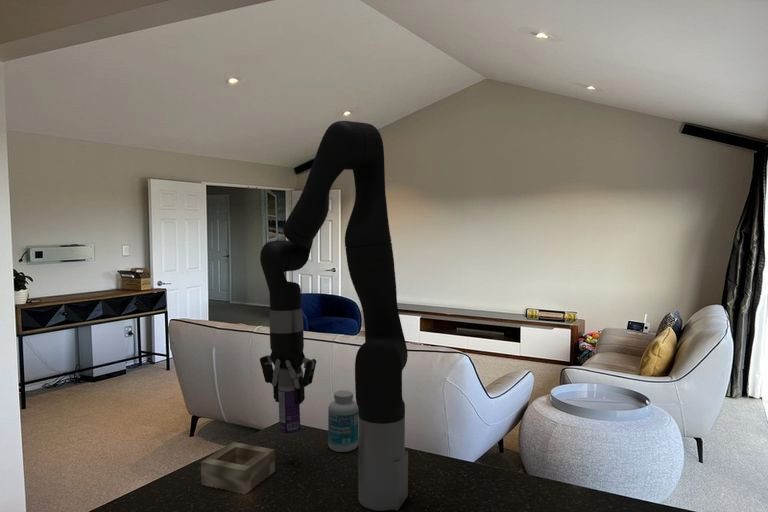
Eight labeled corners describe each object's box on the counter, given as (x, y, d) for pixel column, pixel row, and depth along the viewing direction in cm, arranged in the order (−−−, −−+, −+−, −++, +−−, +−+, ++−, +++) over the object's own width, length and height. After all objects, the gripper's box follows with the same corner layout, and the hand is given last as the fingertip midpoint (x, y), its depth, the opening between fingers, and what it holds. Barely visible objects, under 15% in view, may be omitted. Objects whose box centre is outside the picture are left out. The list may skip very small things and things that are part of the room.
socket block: (274, 471, 121) (274, 449, 121) (245, 494, 111) (244, 470, 111) (233, 463, 125) (233, 441, 125) (201, 484, 115) (200, 461, 115)
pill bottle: (323, 451, 132) (323, 396, 131) (334, 439, 139) (334, 387, 138) (352, 455, 130) (352, 399, 129) (362, 442, 137) (362, 390, 136)
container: (302, 428, 127) (300, 364, 126) (297, 435, 122) (295, 370, 121) (283, 427, 127) (281, 364, 127) (277, 435, 123) (274, 369, 122)
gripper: (322, 327, 124) (324, 400, 125) (269, 324, 130) (271, 394, 131) (305, 333, 117) (308, 411, 118) (250, 330, 123) (253, 404, 124)
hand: (289, 402), depth 124 cm, fingers closed on container, 4 cm apart
